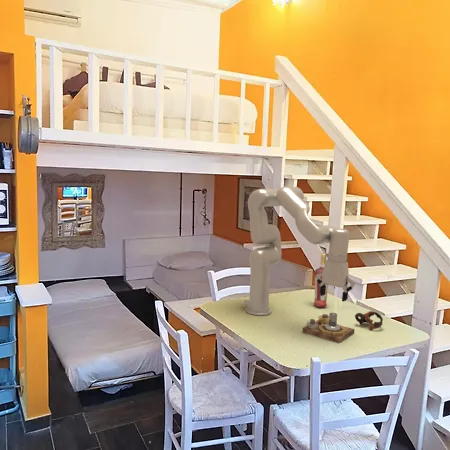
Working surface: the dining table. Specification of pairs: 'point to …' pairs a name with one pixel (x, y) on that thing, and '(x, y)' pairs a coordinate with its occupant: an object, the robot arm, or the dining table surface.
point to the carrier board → (319, 330)
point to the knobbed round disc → (332, 323)
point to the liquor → (320, 300)
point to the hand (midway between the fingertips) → (333, 298)
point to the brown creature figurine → (366, 319)
